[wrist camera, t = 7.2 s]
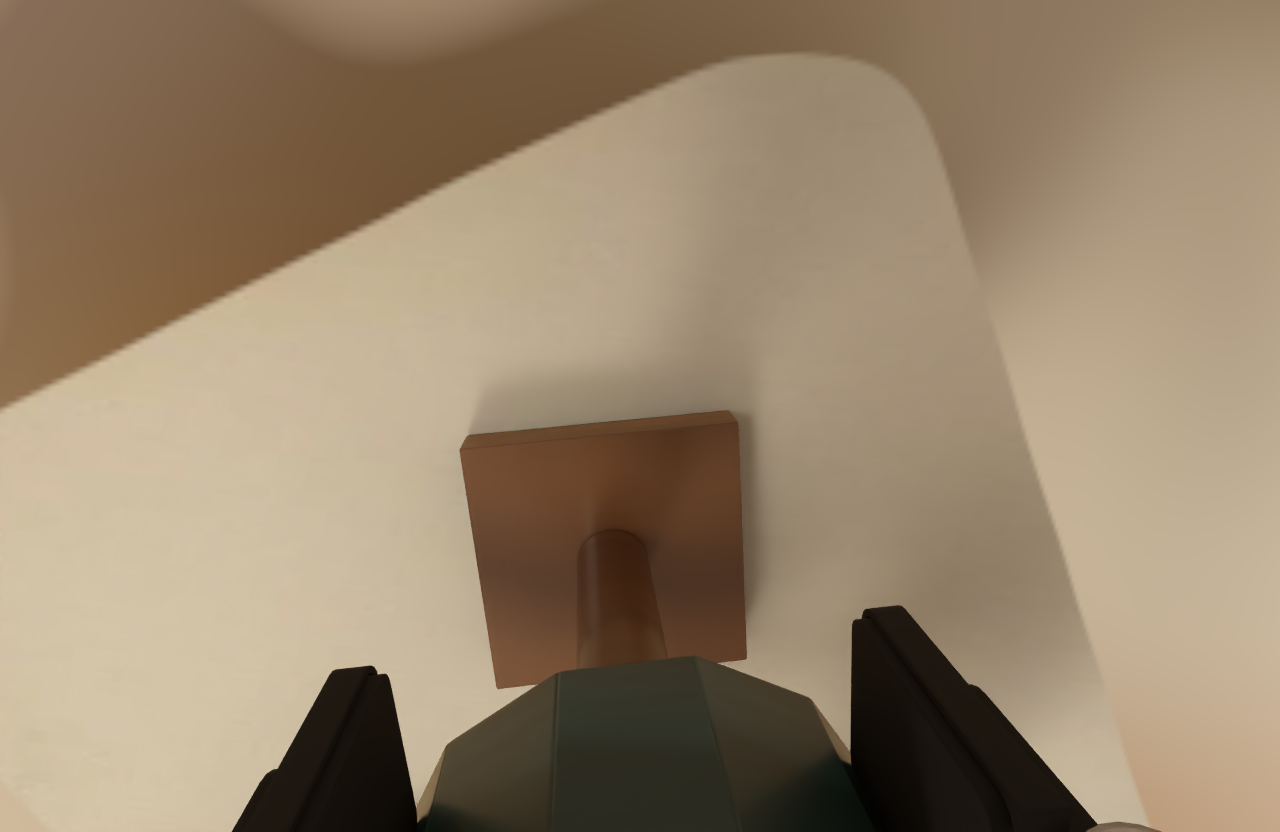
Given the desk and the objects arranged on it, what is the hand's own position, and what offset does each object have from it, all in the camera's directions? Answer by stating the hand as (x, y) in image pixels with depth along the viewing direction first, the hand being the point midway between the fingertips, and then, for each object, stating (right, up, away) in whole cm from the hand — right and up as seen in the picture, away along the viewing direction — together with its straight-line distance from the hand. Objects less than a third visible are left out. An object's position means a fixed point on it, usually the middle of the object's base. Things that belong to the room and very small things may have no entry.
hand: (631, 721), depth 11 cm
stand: (-1, 0, +14) cm, 14 cm away
